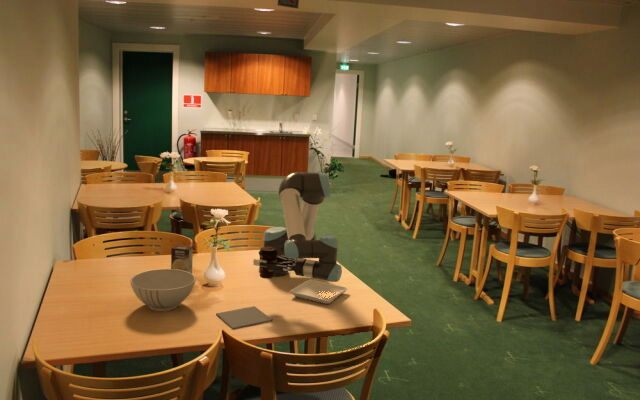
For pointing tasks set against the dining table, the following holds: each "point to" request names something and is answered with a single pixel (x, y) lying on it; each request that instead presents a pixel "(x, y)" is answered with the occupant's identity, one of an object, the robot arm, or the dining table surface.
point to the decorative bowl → (162, 287)
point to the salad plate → (317, 291)
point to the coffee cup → (271, 256)
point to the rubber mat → (243, 317)
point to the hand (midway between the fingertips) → (258, 259)
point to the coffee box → (182, 258)
